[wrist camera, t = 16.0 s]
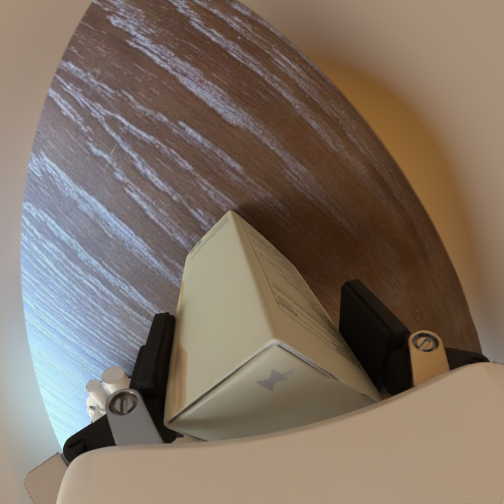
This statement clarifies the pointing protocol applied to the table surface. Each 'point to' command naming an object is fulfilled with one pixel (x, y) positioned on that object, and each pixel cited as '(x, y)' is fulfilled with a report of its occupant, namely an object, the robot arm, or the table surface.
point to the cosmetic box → (254, 344)
